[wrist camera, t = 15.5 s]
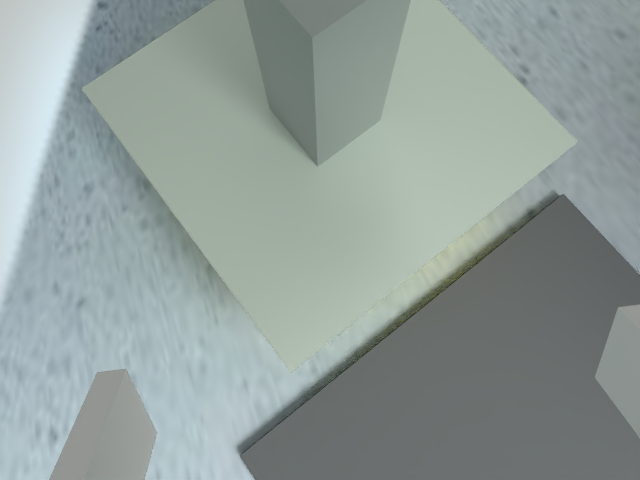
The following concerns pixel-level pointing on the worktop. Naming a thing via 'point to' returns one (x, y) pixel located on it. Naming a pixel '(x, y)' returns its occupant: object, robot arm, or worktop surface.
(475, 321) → the rubber mat
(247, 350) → the worktop surface
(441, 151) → the sage lid
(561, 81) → the worktop surface
